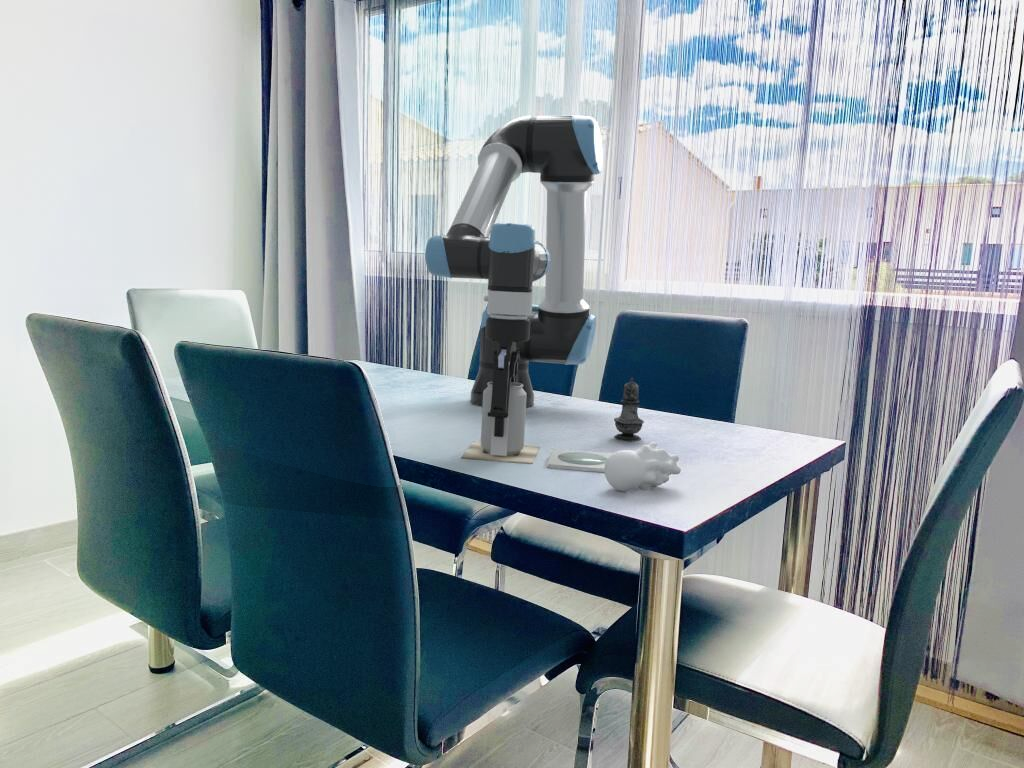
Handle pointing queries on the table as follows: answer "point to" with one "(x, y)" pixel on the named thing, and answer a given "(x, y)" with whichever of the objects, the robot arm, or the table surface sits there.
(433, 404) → the table surface
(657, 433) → the table surface
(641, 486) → the figurine
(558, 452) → the coaster
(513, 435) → the can
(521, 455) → the tile
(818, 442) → the table surface
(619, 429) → the salt shaker
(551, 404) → the table surface
